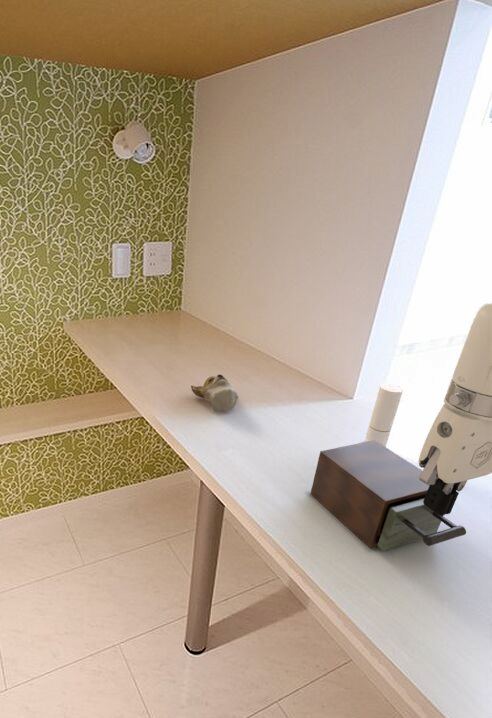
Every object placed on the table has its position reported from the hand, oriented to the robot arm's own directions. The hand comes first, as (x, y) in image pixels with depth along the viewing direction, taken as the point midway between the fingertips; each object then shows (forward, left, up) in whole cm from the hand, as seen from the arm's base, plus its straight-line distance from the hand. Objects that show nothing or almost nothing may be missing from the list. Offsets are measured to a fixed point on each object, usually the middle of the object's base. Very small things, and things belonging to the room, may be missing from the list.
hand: (435, 508), depth 65 cm
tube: (-18, -27, -10) cm, 34 cm away
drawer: (0, -6, -9) cm, 11 cm away
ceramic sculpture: (+5, -58, -10) cm, 59 cm away
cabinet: (0, -11, -9) cm, 14 cm away
